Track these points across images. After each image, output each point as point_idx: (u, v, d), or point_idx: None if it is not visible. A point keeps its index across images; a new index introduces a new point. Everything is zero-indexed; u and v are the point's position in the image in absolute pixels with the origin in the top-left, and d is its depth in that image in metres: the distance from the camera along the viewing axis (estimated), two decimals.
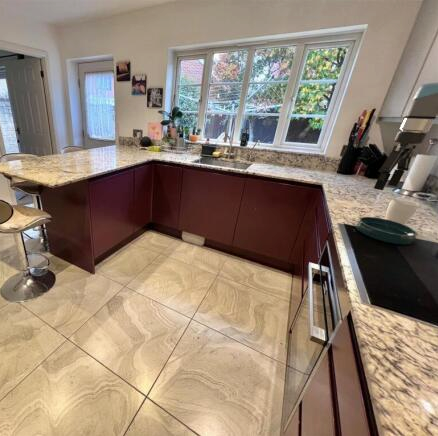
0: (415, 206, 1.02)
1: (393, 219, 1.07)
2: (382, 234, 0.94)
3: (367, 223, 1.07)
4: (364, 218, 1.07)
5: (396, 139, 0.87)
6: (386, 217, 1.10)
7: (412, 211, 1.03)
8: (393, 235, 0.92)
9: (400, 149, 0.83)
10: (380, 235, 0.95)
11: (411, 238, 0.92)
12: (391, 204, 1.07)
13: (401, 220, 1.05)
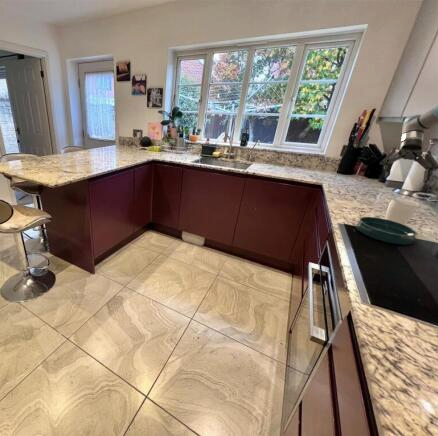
0: (415, 206, 1.02)
1: (393, 219, 1.07)
2: (382, 234, 0.94)
3: (367, 223, 1.07)
4: (364, 218, 1.07)
5: None
6: (386, 217, 1.10)
7: (412, 211, 1.03)
8: (393, 235, 0.92)
9: (392, 150, 1.17)
10: (380, 235, 0.95)
11: (411, 238, 0.92)
12: (391, 204, 1.07)
13: (401, 220, 1.05)
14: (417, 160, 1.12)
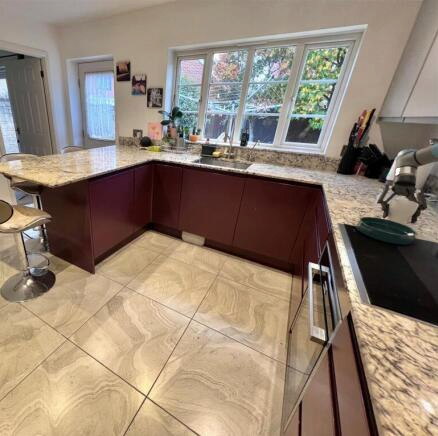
0: (415, 206, 1.02)
1: (393, 219, 1.07)
2: (382, 234, 0.94)
3: (367, 223, 1.07)
4: (364, 218, 1.07)
5: None
6: (386, 217, 1.10)
7: (412, 211, 1.03)
8: (393, 235, 0.92)
9: (385, 187, 1.13)
10: (380, 235, 0.95)
11: (411, 238, 0.92)
12: (391, 204, 1.07)
13: (401, 220, 1.05)
14: (408, 197, 1.09)
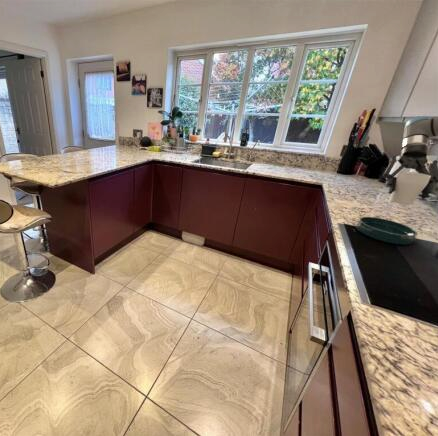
0: (427, 178, 0.88)
1: (401, 194, 0.94)
2: (382, 234, 0.94)
3: (367, 223, 1.07)
4: (364, 218, 1.07)
5: None
6: (393, 193, 0.97)
7: (423, 184, 0.89)
8: (393, 235, 0.92)
9: (391, 159, 0.99)
10: (380, 235, 0.95)
11: (411, 238, 0.92)
12: (398, 177, 0.94)
13: (410, 195, 0.92)
14: (418, 170, 0.95)
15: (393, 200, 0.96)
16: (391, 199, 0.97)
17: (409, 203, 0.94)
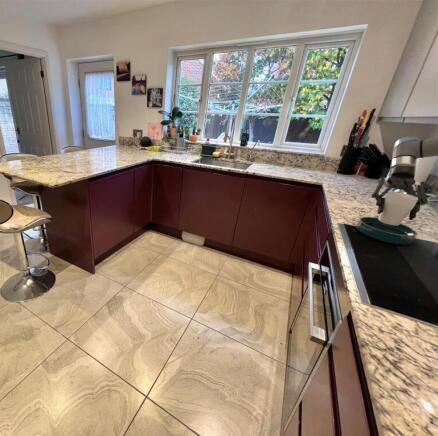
0: (414, 200, 0.90)
1: (389, 215, 0.95)
2: (382, 234, 0.94)
3: (367, 223, 1.07)
4: (364, 218, 1.07)
5: None
6: (381, 213, 0.98)
7: (410, 206, 0.90)
8: (393, 235, 0.92)
9: (380, 179, 1.00)
10: (380, 235, 0.95)
11: (411, 238, 0.92)
12: (387, 198, 0.95)
13: (398, 216, 0.93)
14: (406, 191, 0.96)
15: (382, 220, 0.98)
16: (380, 219, 0.99)
17: (397, 224, 0.95)
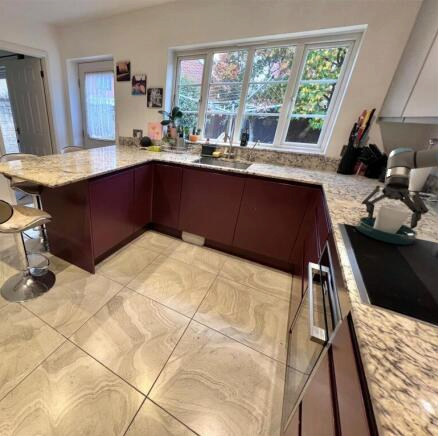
0: (406, 213, 0.92)
1: (383, 227, 0.97)
2: (382, 234, 0.94)
3: (367, 223, 1.07)
4: (364, 218, 1.07)
5: None
6: (375, 224, 1.00)
7: (403, 218, 0.93)
8: (393, 235, 0.92)
9: (375, 187, 1.03)
10: (380, 235, 0.95)
11: (411, 238, 0.92)
12: (380, 210, 0.98)
13: (391, 228, 0.96)
14: (403, 201, 0.98)
15: None
16: None
17: None
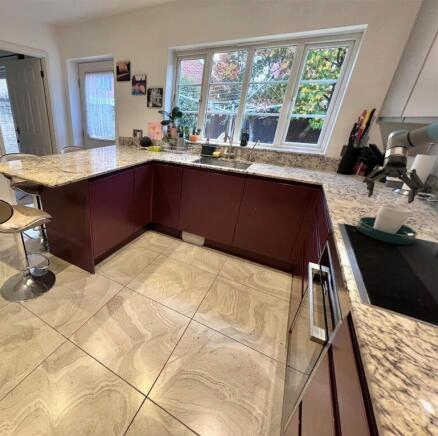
0: (406, 213, 0.92)
1: (383, 227, 0.97)
2: (382, 234, 0.94)
3: (367, 223, 1.07)
4: (364, 218, 1.07)
5: None
6: (375, 224, 1.00)
7: (403, 218, 0.93)
8: (393, 235, 0.92)
9: (375, 167, 1.10)
10: (380, 235, 0.95)
11: (411, 238, 0.92)
12: (380, 210, 0.98)
13: (391, 228, 0.96)
14: (401, 178, 1.05)
15: None
16: None
17: None
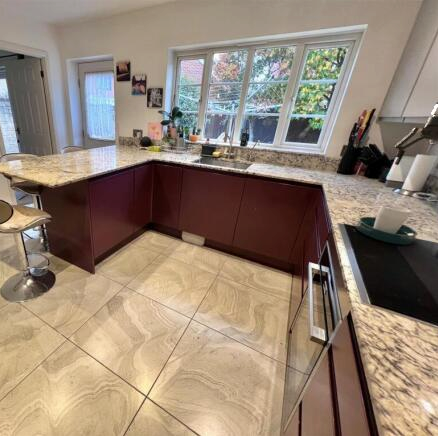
0: (406, 213, 0.92)
1: (383, 227, 0.97)
2: (382, 234, 0.94)
3: (367, 223, 1.07)
4: (364, 218, 1.07)
5: None
6: (375, 224, 1.00)
7: (403, 218, 0.93)
8: (393, 235, 0.92)
9: (413, 130, 1.02)
10: (380, 235, 0.95)
11: (411, 238, 0.92)
12: (380, 210, 0.98)
13: (391, 228, 0.96)
14: None
15: None
16: None
17: None
